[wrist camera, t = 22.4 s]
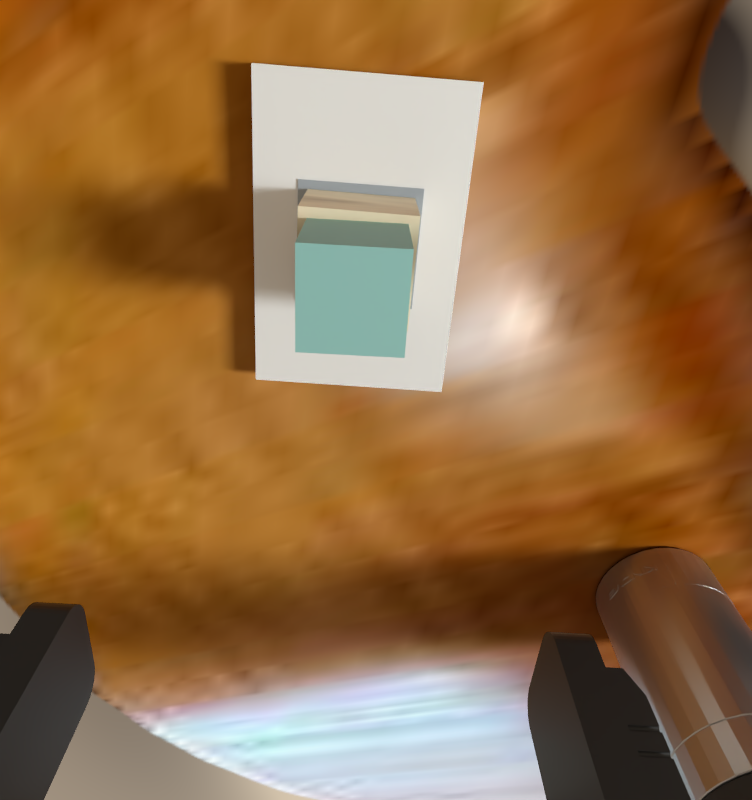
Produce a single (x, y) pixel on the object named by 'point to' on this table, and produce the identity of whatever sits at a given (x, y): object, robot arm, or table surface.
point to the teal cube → (352, 287)
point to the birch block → (361, 212)
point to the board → (368, 174)
